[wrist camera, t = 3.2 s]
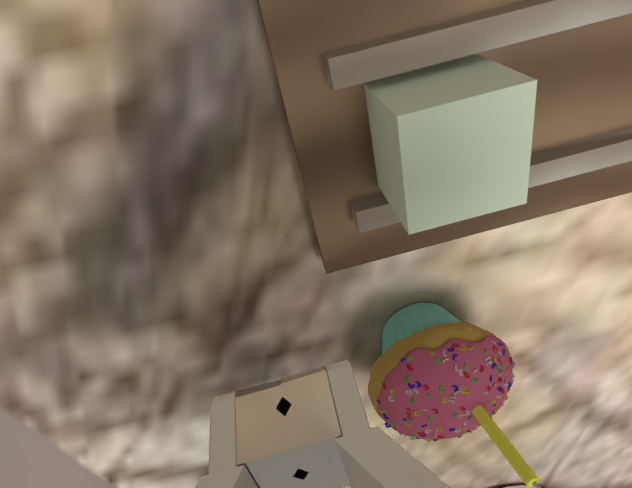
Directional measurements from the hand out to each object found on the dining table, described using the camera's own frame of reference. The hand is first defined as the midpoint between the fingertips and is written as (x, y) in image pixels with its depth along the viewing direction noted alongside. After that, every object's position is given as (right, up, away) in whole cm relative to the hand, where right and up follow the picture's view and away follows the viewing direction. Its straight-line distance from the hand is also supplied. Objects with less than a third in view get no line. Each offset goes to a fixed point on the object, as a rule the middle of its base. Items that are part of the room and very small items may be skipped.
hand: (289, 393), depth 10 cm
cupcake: (+7, -3, +21) cm, 22 cm away
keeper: (+6, +9, +11) cm, 15 cm away
